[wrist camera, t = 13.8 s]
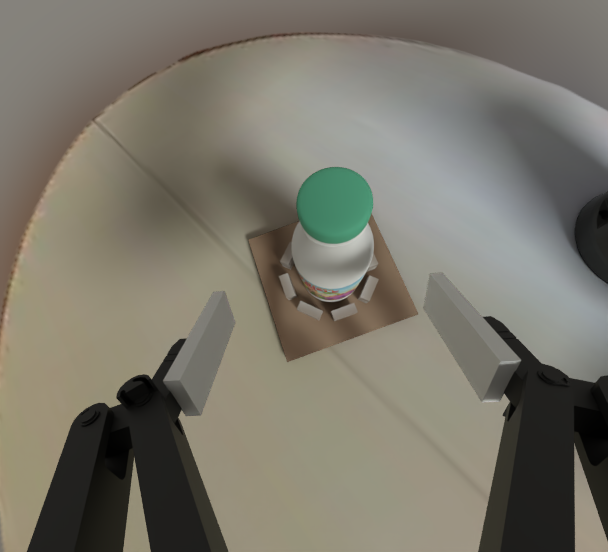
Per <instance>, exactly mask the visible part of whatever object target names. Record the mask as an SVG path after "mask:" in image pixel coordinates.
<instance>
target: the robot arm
mask: <svg viewBox="0 0 608 552" xmlns="http://www.w3.org/2000/svg"><path fill="white" fill-rule="evenodd" d="M575 235H576V242H577V246H578V248H579V251H580V253H581V255H582V257H583V259H584V260H585V262H586V263H587V264H588V266H589V267H590V268H591V269H592V270H593V271H594V272H595V273H596V274H597V275H598V276H599V277H600V278H601V279H603V280H604V281H605V282H607V283H608V192H605V193H603V194H601V195H599V196H597V197H596V198H594V199H592V200H591V201H590V202H589V203H587V204H586V206H585V207H584V208H583V209H582V211H581V212H580V214H579V216H578V219H577V222H576V228H575ZM424 310H425V311H426V313H427V315H428V316H429V318H430V319H431V321H432V323H433V324H434V326H435V328H436V329H437V331H438V332H439V334H440V336H441V337H442V339H443V340H444V342H445V344H446V345H447V347H448V348H449V350H450V352H451V353H452V355H453V357H454V358H455V360H456V361H457V363H458V365H459V366H460V368H461V369H462V371H463V373H464V374H465V376H466V377H467V379H468V381H469V382H470V384H471V386H472V387H473V389H474V390H475V392H476V394H477V395H478V397H479V398H480V400H481V402H498V401H500V400H501V398H502V396H503V394H505V395H506V396H507V398H508V399H509V401H510V403H509V404H508V406H507V408H506V410H505V412H504V413H503V416H505V422H504V427H503V432H502V437H501V442H500V447H499V452H498V457H497V462H496V467H495V472H494V477H493V482H492V486H491V491H490V496H489V501H488V506H487V511H486V516H485V521H484V526H483V531H482V536H481V541H480V546H479V551H478V552H575V502H574V443H575V446H576V449H577V452H578V455H579V458H580V461H581V464H582V467H583V470H584V473H585V476H586V479H587V482H588V484H589V487H590V490H591V493H592V496H593V499H594V502H595V505H596V508H597V511H598V514H599V517H600V520H601V523H602V526H603V529H604V531H605V534H606V537H607V540H608V376H602V377H600V378H599V379H598V381H597V382H596V383H593V382H587V381H582V380H577V379H572V378H569V377H568V376H567V375H566V374H564V373H563V372H561V371H560V370H558V369H556V368H554V367H552V366H549V365H545V364H542V363H540V361H539V360H538V359H537V358H536V357H535V356H534V355H533V354H532V353H531V352H530V351H529V350H528V349H527V348H526V347H525V346H524V345H523V344H522V343H521V342H520V341H519V340H518V339H516V337H515V336H514V335H513V334H512V333H511V332H510V331H509V330H508V328H507V327H506V326H505V325H504V324H503V323H501V322H500V321H498V320H496V319H495V318H493V317H491V316H489V317H482V316H481V315H480V314H479V313H478V312H477V310H476V309H475V308H474V307H473V306H472V305H471V304H470V303H469V301H468V300H467V299H466V298H465V297H464V296H463V295H462V294H461V293H460V291H459V290H458V289H457V288H456V287H455V286H454V285H453V284H452V283H451V281H450V280H449V279H448V278H447V277H446V276H445V275H444V274H443V273H430V275H429V280H428V286H427V291H426V297H425V302H424ZM234 325H235V320H234V317H233V314H232V311H231V308H230V305H229V302H228V299H227V296H226V293H225V291H218V292H213V293H212V295H211V297H210V299H209V301H208V302H207V304H206V306H205V308H204V309H203V311H202V313H201V315H200V316H199V318H198V320H197V322H196V323H195V325H194V327H193V329H192V331H191V332H190V334H189V336H188V338H187V339H179V340H178V341H177V342H176V343H175V344H174V345H173V346H172V347H171V349H170V351H169V352H168V354H167V356H166V357H165V359H164V360H163V362H162V364H161V365H160V367H159V369H158V370H157V372H156V373H155V375H154V377H153V378H152V380H151V378H150V377H149V376H148V375H138V376H136V377H133V378H131V379H130V380H128V381H127V382H126V383H125V384H124V385H123V386H122V387H121V388H120V389H119V391H118V393H117V399H118V400H119V401H120V403H121V404H120V405H117V406H114V407H112V408H109V407H108V406H107V405H106V404H105V403H97V404H94V405H92V406H90V407H88V408H86V409H85V410H84V411H83V412H81V413H80V414H79V415H78V416H77V417H76V419H75V420H74V422H73V423H72V425H71V428H70V431H69V434H68V436H67V439H66V442H65V445H64V448H63V451H62V454H61V456H60V459H59V462H58V465H57V468H56V471H55V473H54V476H53V479H52V482H51V485H50V488H49V490H48V493H47V496H46V499H45V502H44V505H43V507H42V510H41V513H40V516H39V519H38V522H37V525H36V527H35V530H34V533H33V536H32V539H31V542H30V544H29V547H28V550H27V552H123V546H124V538H125V529H126V521H127V512H128V504H129V495H130V487H131V478H132V470H133V461H134V457H135V463H136V468H137V474H138V480H139V486H140V491H141V497H142V503H143V509H144V514H145V520H146V526H147V532H148V537H149V543H150V549H151V552H228V549H227V546H226V544H225V541H224V538H223V536H222V533H221V530H220V527H219V525H218V522H217V519H216V517H215V514H214V511H213V508H212V506H211V503H210V500H209V498H208V495H207V492H206V489H205V487H204V484H203V481H202V479H201V476H200V473H199V470H198V468H197V465H196V462H195V460H194V457H193V454H192V451H191V449H190V446H189V443H188V441H187V438H186V435H185V432H184V430H183V427H182V424H181V422H180V420H179V418H178V416H179V414H180V412H181V410H182V411H183V412H184V414H185V415H186V416H198V415H201V414H202V411H203V408H204V406H205V403H206V400H207V398H208V395H209V392H210V389H211V387H212V384H213V381H214V379H215V376H216V373H217V371H218V368H219V365H220V362H221V360H222V357H223V354H224V352H225V349H226V346H227V344H228V341H229V338H230V335H231V333H232V330H233V327H234Z"/></svg>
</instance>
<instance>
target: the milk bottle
mask: <svg viewBox="0 0 608 552" xmlns="http://www.w3.org/2000/svg"><path fill="white" fill-rule="evenodd" d="M296 206H297V213H298V218H299V220H300V221H299V223H298V224H297V226H296V228H295V231H294V234H293V238H292V257H293V261H294V264H295V267H296V269H297V271H298V273H299V276H300V278H301V280H302V282H303V284H304V286H305V287H306V289H307V290H308V292H309V293H310V294H311V295H312V296H314V297H315V298H317V299H319V300H321V301H325V302H337V301H341V300H343V299H345V298H347V297H348V296H349V295H351V294H352V293H353V291H354V290H355V289H356V288H357V286H358V285H359V283H360V281H361V280H362V278H363V277H364V275H365V273H366V272H367V270H368V268H369V265H370V263H371V260H372V257H373V251H374V240H373V234H372V231H371V228H370V226H369V224H368V221H369V219H370V216H371V213H372V209H373V196H372V192H371V189H370V187H369V185H368V183H367V182H366V181H365V179H364V178H363V177H362V176H360V175H359V174H358V173H356V172H354V171H352V170H350V169H347V168H342V167H330V168H325V169H322V170H319V171H317V172H315V173H314V174H312V175H311V176H310V177H308V178H307V179H306V180H305V182H304V183H303V184H302V186H301V188H300V190H299V193H298V196H297V203H296Z"/></svg>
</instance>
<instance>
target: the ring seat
mask: <svg viewBox="0 0 608 552" xmlns="http://www.w3.org/2000/svg"><path fill="white" fill-rule="evenodd" d="M298 223H299V221H298V222H295V223H292V224H290V225H287V226H284V227H281V228H279V229H276V230H273V231H271V232H268V233H265V234H262V235H260V236H257V237H254V238H252V239H249V243H250V247H251V250H252V253H253V256H254V259H255V262H256V265H257V268H258V272H259V275H260V278H261V281H262V284H263V287H264V290H265V294H266V297H267V300H268V303H269V306H270V309H271V312H272V315H273V319H274V322H275V325H276V328H277V331H278V334H279V337H280V341H281V344H282V347H283V350H284V353H285V356H286V359H287V362H289V361H291V360H294V359H297V358H300V357H302V356H305V355H308V354H311V353H313V352H316V351H319V350H322V349H324V348H327V347H330V346H333V345H335V344H338V343H341V342H343V341H346V340H349V339H352V338H354V337H357V336H360V335H363V334H365V333H368V332H371V331H374V330H376V329H379V328H382V327H385V326H387V325H390V324H393V323H396V322H398V321H401V320H404V319H407V318H409V317H412V316H415V315H417V314H418V312H417V310H416V308H415V306H414V303H413V301H412V299H411V297H410V295H409V293H408V291H407V288H406V286H405V284H404V282H403V280H402V278H401V276H400V273H399V271H398V269H397V267H396V265H395V263H394V261H393V258H392V256H391V254H390V252H389V250H388V248H387V246H386V243H385V241H384V239H383V237H382V235H381V233H380V231H379V228H378V226H377V224H376V222H375V220H374V218H373V216H372V213H371V216H370V219H369V221H368V224H369V226H370V228H371V231H372V234H373V240H374V251H373V257H372V260H371V263H370V265H369V268H368V270H367V272H366V273H365V275H364V277H363V278H362V280H361V281H360V283H359V285H358V286H357V288H356V289H355V290H354V291H353V293H352V294H351V295H349V296H348V297H347V298H345V299H343V300H341V301H337V302H325V301H321V300H319V299H317V298H315V297H314V296H312V295H311V294H310V293H309V292H308V290H307V289H306V287H305V286H304V284H303V282H302V280H301V278H300V276H299V273H298V271H297V269H296V267H295V264H294V261H293V257H292V238H293V234H294V231H295V228H296V226H297V224H298Z"/></svg>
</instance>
